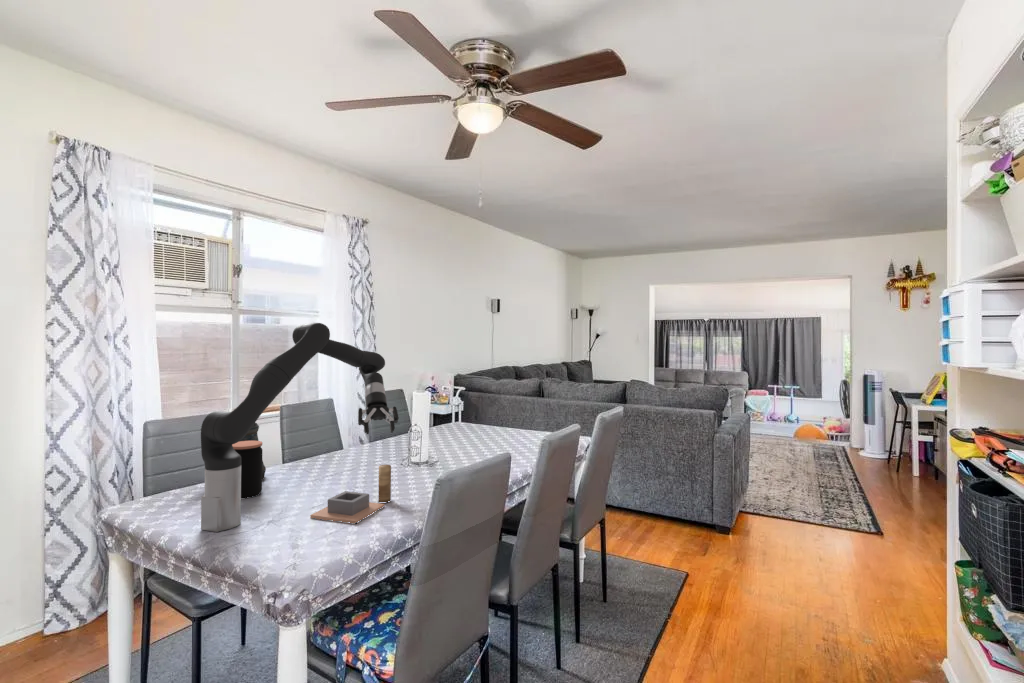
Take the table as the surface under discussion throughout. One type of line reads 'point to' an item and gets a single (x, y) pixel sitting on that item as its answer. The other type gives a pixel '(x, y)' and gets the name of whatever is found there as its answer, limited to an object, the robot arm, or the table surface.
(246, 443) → the coffee jar
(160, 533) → the table surface
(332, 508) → the holder
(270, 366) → the robot arm
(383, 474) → the tan dome-topped cylinder
